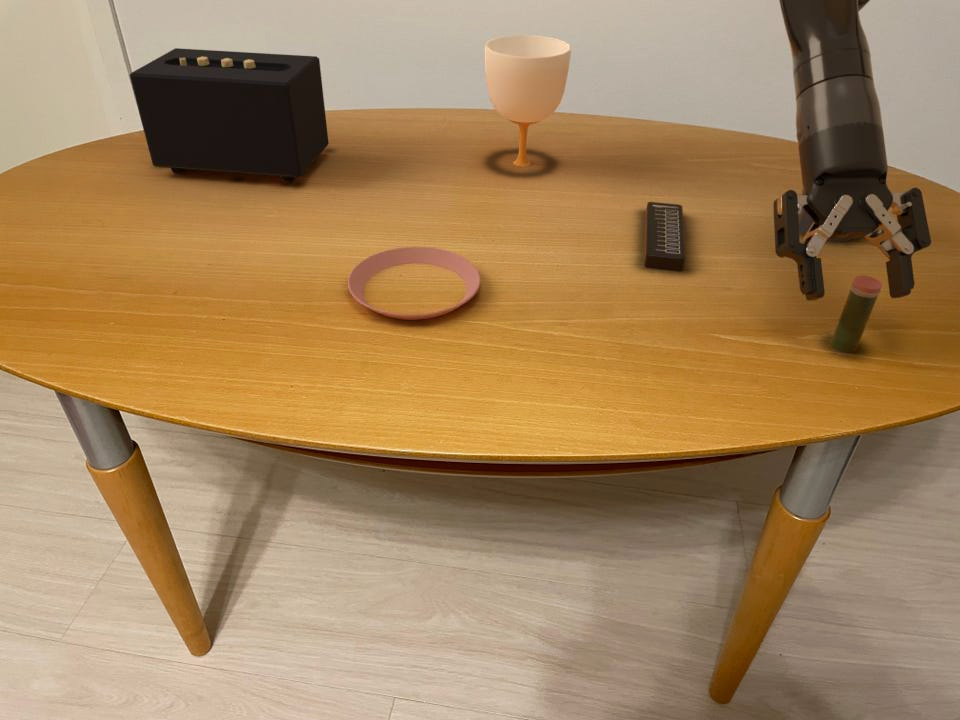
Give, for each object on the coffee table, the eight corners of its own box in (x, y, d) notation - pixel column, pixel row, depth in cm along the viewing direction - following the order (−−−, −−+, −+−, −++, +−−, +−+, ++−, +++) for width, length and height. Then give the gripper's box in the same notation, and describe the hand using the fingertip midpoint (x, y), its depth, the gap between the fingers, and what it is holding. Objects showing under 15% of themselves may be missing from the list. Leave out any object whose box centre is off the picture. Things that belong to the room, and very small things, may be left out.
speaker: (330, 154, 113) (319, 50, 103) (302, 188, 102) (286, 77, 93) (195, 144, 115) (173, 41, 106) (154, 177, 105) (126, 67, 96)
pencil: (854, 346, 75) (881, 277, 70) (855, 360, 73) (883, 291, 68) (827, 341, 75) (853, 273, 70) (828, 355, 73) (854, 286, 69)
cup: (550, 188, 104) (561, 61, 94) (471, 176, 107) (472, 52, 96) (569, 157, 113) (580, 39, 103) (495, 147, 116) (498, 31, 105)
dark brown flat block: (643, 272, 86) (646, 254, 84) (644, 217, 97) (647, 200, 96) (681, 276, 85) (685, 258, 84) (679, 220, 96) (682, 204, 95)
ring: (492, 323, 77) (493, 307, 76) (353, 337, 74) (352, 321, 73) (467, 256, 88) (467, 241, 87) (345, 267, 86) (343, 251, 84)
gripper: (788, 120, 69) (807, 291, 66) (933, 118, 70) (957, 286, 68) (752, 153, 76) (768, 308, 74) (885, 151, 77) (904, 303, 75)
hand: (858, 297), depth 71 cm, fingers open, 8 cm apart
